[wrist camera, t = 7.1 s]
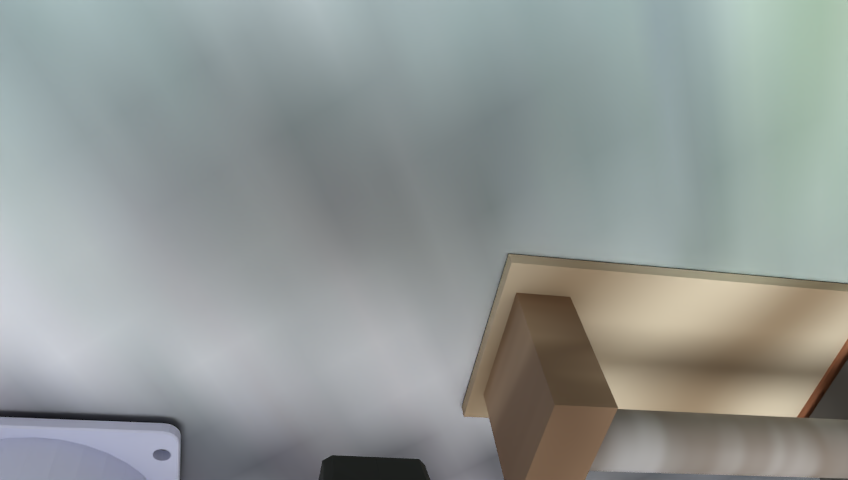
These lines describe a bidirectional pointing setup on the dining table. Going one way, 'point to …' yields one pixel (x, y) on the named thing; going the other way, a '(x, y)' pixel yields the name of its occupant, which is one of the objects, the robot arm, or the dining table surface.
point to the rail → (659, 372)
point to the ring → (834, 402)
